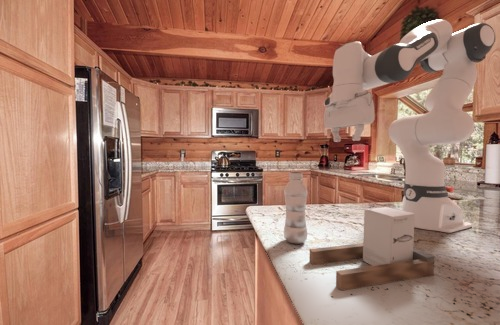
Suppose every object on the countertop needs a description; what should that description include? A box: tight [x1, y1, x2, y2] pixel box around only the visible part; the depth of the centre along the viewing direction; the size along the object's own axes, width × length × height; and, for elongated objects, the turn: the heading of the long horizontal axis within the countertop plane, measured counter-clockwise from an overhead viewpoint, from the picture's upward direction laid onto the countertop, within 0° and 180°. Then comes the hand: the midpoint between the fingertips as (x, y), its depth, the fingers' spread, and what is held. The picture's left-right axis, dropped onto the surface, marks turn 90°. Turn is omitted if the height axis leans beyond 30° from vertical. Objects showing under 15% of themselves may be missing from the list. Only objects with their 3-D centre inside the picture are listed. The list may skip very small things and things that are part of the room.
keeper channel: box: [309, 242, 436, 291], centre depth 53 cm, size 22×12×4 cm, turn 104°
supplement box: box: [362, 206, 415, 266], centre depth 55 cm, size 7×7×13 cm
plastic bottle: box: [283, 171, 308, 245], centre depth 68 cm, size 6×7×20 cm
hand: (346, 141), depth 76 cm, fingers open, 8 cm apart
